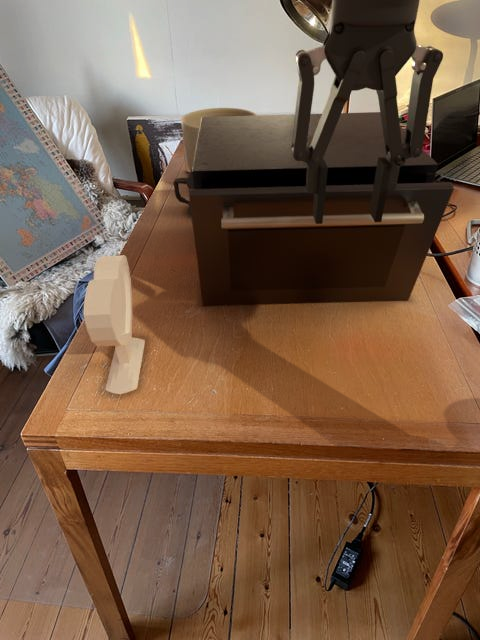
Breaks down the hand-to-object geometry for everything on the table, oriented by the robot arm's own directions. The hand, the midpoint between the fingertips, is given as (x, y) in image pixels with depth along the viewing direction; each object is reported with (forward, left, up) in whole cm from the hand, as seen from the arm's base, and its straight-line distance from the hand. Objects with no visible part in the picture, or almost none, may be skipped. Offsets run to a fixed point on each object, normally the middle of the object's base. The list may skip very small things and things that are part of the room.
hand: (346, 217), depth 53 cm
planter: (+82, +17, -29) cm, 89 cm away
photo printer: (+97, +25, -29) cm, 104 cm away
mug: (+65, +23, -29) cm, 75 cm away
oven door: (+21, 0, -29) cm, 36 cm away
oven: (+40, 0, -29) cm, 49 cm away
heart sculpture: (+7, +32, -29) cm, 44 cm away
